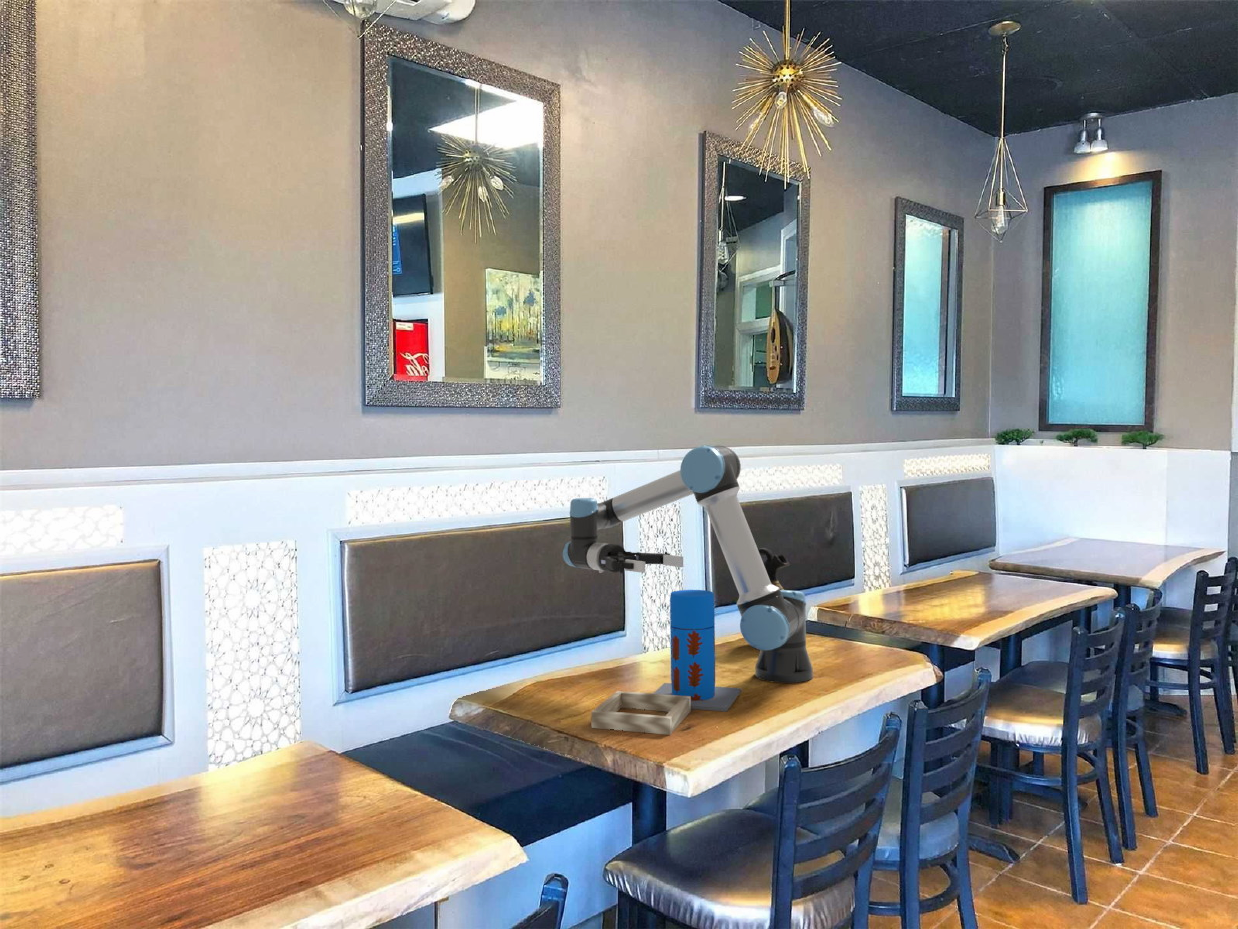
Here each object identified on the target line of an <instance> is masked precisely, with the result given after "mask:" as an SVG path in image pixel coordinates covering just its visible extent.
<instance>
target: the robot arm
mask: <svg viewBox="0 0 1238 929" xmlns="http://www.w3.org/2000/svg"><path fill="white" fill-rule="evenodd" d="M741 467H742V466H741V461H740V458H739V456H738V455H737V454H736V452H735V451H734V450H732V448H730V447H729V446H724V445H707V444H706V445H701V446H698V447H694V448H692V449H691V450H689V451H688V452H687V453H686V454H685V455H684V457H683V458H682V461H681V463H680V470H677V471H674V472H672V473H670V474H667V475H665V476H662V477H660V478H658V479H655V480H653V481H650V482H648V483H646V484H643V485H641V486H638V487H636V488H634V489H631V490H627V491H626V492H624V493H621V494H619V495H617V496H615V497H612V498H609V499H607V500H605V501H601V502H599V503H598V501H597V499H596V498H594V497H579V498H573V499H571V501H570V508H569V509H570V510H569V524H570V527H569V528H570V538H569V539H570V541H568V542H567V543H566V544H564V548H563V550H562V558H563V560H564V562H565V564H566V565H568V566H570V567H574V568H577V569H584V570H594V571H598V573H599V574H602V573H603V572H605V573H615V574H616V573H619V574H625V572H627V571H628V572H634V573H635V572H636V573H641V574H645V573H646V565H663V566H669V567H675V568H684V556H683V555H682V556H681V555H672V554H671V553H669V552H667V551H664V553H660V552H659V553H658V552H657V553H656V552H655V553H654V552H639V551H636V552H633V551H626V550H625V548H624V547H623V546H622V545H620V544H615V543H614V544H613V543H607V542H598V536H599V535H598V532H599V530H603V529H604V530H605V529H611V528H614V527H616V526H618V525H620V524H621V523H623V522H626V521H628V520H630V519H634V518H636V517H639V516H642V515H644V514H646V513H649V512H651V511H654V510H657V509H659V508H661V507H663V506H664V507H665V506H666V505H669V504H672V503H674V502H677V501H679V500H681V499H683V498H686V497H690V496H692V495H693V496H694V497H695V501H696V502H697V505H699V506H701V507H703V508H704V509H705V510H706V512H707V515H708V517H709V521H710V522H711V525H712V528H713V531H714V533H715V536H716V538H717V541H718V544H719V545H720V549H721V551H722V554H723V556H724V559H725V562H726V564H727V566H728V570H729V572H730V574H731V577H732V579H733V582H734V585H735V588H736V590H737V592H738V595H739V596H738V600H736V606H737V609H738V611H739V614H740V616H741V618H740V621H739V622H740V623H739V628H740V632H741V636H742V637H743V639H744V641H745V642H746V643H747V644H748V645H749V646H751V647H753V648H754V649H757V650H760V651H759V653H758V657H757V660H756V664H755V671H754V673H755V675H756V676H755V677H756V678H757V679H759V678H760V680H761V681H764V682H765V681H766V682H770V681H773V683H779V682H781V683H782V684H783V683H785V684H791V683H793V684H794V683H803V682H807V681H810V680H812V679H813V677H814V669H813V665H812V663H811V659H810V656H809V654H808V650H807V642H806V641H807V639H806V636H807V635H806V634H807V632H806V631H807V629H806V626H807V624H806V623H807V622H806V615H807V614H806V606H807V602H806V595H805V593H804V592H803V591H799V590H787V589H784V590H780V588H779V587H777V586H775V585H773V584H771V582H770V579H769V577H768V574H767V571H766V569H765V566H764V562H763V559H762V555H760V554H759V551H758V549H759V548H758V546H757V544H756V542H755V538H754V537H753V534H752V532H751V528H750V526H749V524H748V521H747V519H746V516H745V513H744V511H743V509H742V506H741V503H740V501H739V498H738V493H739V492H740V485H739V482H738V478H739V476H740V473H741V469H742V468H741ZM802 681H803V682H802Z"/></svg>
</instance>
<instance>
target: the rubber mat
mask: <svg viewBox="0 0 1238 929" xmlns="http://www.w3.org/2000/svg"><path fill="white" fill-rule="evenodd" d="M740 692H742V688H740V687H726V686H715V696H714V697H713V698H710V699H706V700H698V701H691V710H698V711H699V710H702V711H712V712H713V711H715V712H727V711H728V710H729V708H730V707H732V705H733V703H734V702H735V700H737V698H738V697H737V696H740V694H741V693H740ZM652 694H665V695H672V685H671V682H670V683H668V682H663V683H662V685H661V686H659V687H657V689H656V690H655V691H654V692H652Z"/></svg>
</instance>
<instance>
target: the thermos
mask: <svg viewBox="0 0 1238 929" xmlns="http://www.w3.org/2000/svg"><path fill="white" fill-rule="evenodd" d="M714 595H715V594H714V592H713V591H710V590H704V589H682V590H681V589H680V590H675V591H671V592H670V596H669V605H670V606H669V618H670V619H669V620H670V621H669V622H670V625H669V626H670V632H669V633H670V634H669V635H670V683H671V685H672V695H678V696H691V701H698V700H706V699H710V698H713V697H714V696H715V687H716V637H715V636H716V634H715V633H716V630H715V624H716V623H715V620H716V619H715V597H714Z"/></svg>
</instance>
